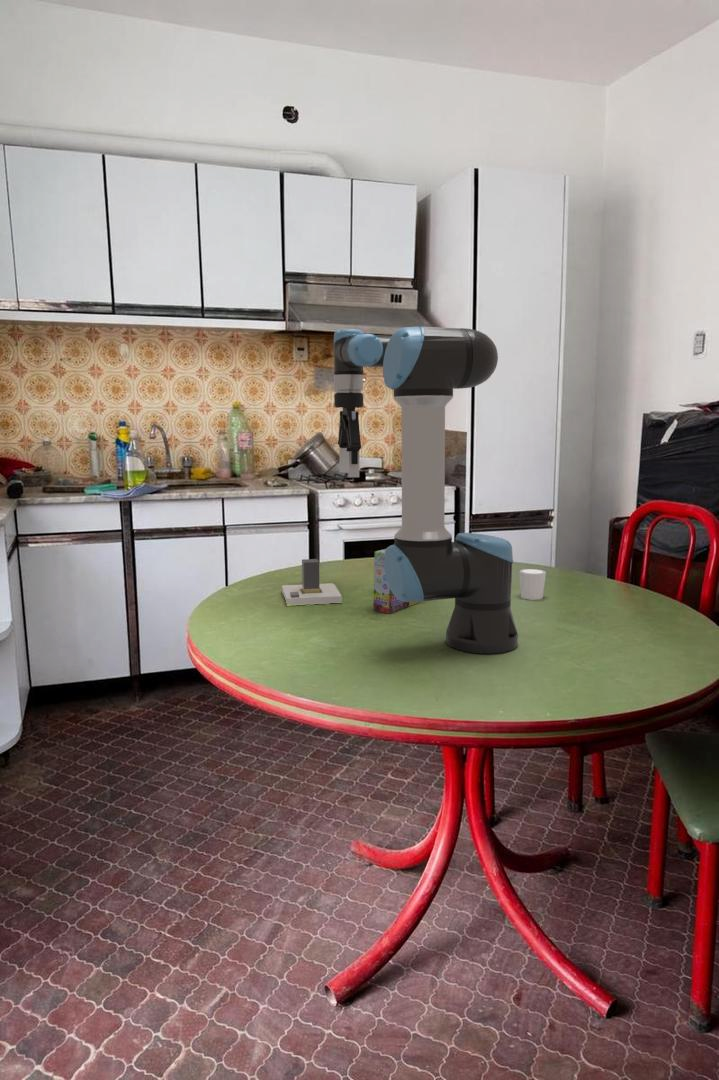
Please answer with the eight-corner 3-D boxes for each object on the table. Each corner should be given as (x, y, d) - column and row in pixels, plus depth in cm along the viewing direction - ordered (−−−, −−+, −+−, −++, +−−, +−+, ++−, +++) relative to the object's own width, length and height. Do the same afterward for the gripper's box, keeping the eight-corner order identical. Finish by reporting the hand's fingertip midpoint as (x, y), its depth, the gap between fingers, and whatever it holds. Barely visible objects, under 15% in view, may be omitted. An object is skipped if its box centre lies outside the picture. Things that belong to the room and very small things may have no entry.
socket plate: (341, 603, 193) (341, 593, 192) (286, 606, 190) (286, 596, 190) (333, 590, 206) (333, 580, 206) (282, 592, 204) (281, 583, 203)
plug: (319, 599, 197) (319, 562, 195) (304, 600, 196) (303, 562, 194) (317, 595, 200) (317, 558, 199) (302, 596, 200) (301, 559, 198)
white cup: (547, 600, 195) (548, 574, 194) (521, 600, 196) (522, 574, 194) (542, 593, 202) (543, 568, 201) (516, 593, 202) (517, 568, 201)
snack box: (391, 615, 183) (391, 553, 180) (372, 611, 186) (372, 551, 183) (437, 597, 199) (438, 540, 197) (419, 593, 203) (419, 538, 200)
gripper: (373, 391, 183) (372, 479, 187) (354, 392, 207) (354, 470, 211) (342, 391, 182) (342, 479, 185) (327, 392, 206) (327, 470, 210)
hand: (349, 474), depth 198 cm, fingers open, 13 cm apart
